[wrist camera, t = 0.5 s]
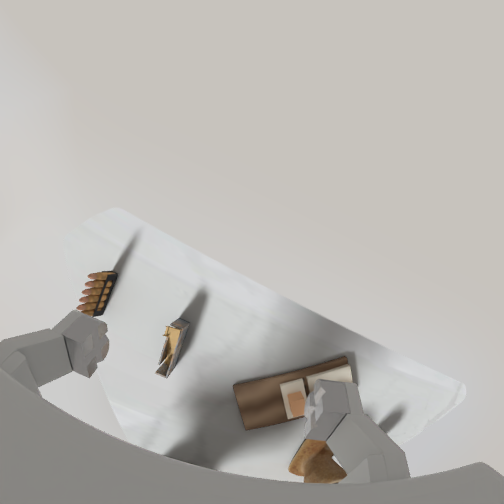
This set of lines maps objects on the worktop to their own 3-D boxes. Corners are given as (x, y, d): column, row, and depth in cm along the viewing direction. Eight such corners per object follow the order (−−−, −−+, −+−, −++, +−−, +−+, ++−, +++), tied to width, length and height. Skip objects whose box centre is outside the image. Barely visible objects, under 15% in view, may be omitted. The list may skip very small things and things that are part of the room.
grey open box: (177, 317, 60) (165, 324, 50) (190, 322, 60) (180, 330, 50) (162, 361, 59) (150, 375, 49) (175, 367, 59) (164, 382, 49)
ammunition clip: (112, 270, 59) (86, 269, 47) (118, 274, 59) (93, 274, 48) (96, 311, 59) (69, 317, 47) (102, 315, 59) (76, 322, 47)
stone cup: (320, 476, 57) (334, 509, 42) (281, 468, 57) (289, 504, 42) (349, 436, 58) (370, 466, 43) (310, 426, 58) (325, 460, 43)
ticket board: (351, 399, 59) (355, 404, 56) (245, 427, 58) (245, 433, 55) (344, 356, 60) (349, 359, 57) (233, 384, 58) (232, 390, 55)
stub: (308, 411, 57) (313, 421, 52) (287, 416, 56) (290, 427, 51) (301, 378, 57) (306, 386, 52) (279, 384, 57) (282, 393, 52)
